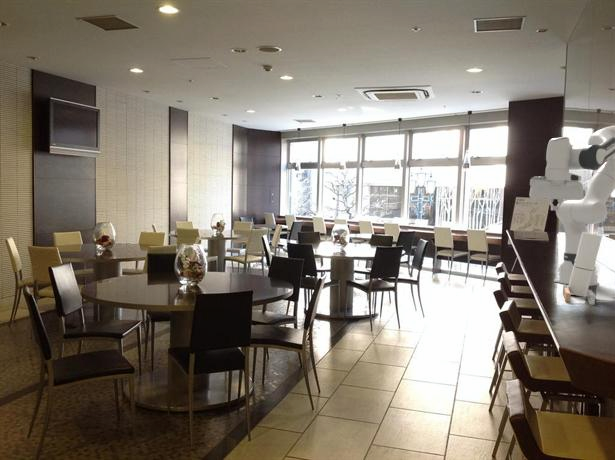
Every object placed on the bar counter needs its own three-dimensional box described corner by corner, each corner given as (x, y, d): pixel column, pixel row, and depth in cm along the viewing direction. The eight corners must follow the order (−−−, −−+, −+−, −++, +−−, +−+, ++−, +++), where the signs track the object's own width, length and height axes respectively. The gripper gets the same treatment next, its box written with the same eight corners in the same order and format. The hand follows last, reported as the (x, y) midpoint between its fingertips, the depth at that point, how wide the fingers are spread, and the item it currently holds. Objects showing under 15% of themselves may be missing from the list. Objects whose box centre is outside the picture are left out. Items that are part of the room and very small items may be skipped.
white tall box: (582, 294, 221) (597, 234, 218) (589, 297, 214) (605, 236, 211) (564, 290, 221) (579, 231, 218) (570, 294, 214) (586, 233, 211)
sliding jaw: (562, 293, 221) (563, 285, 221) (566, 293, 220) (567, 285, 220) (565, 301, 201) (566, 293, 201) (569, 301, 201) (570, 293, 201)
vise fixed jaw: (586, 298, 211) (587, 289, 211) (590, 298, 211) (591, 290, 210) (590, 304, 198) (590, 295, 198) (594, 305, 198) (595, 295, 198)
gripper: (532, 175, 219) (530, 209, 220) (585, 176, 216) (583, 211, 217) (528, 176, 225) (526, 209, 226) (580, 177, 222) (578, 211, 223)
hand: (555, 210), depth 221 cm, fingers closed
